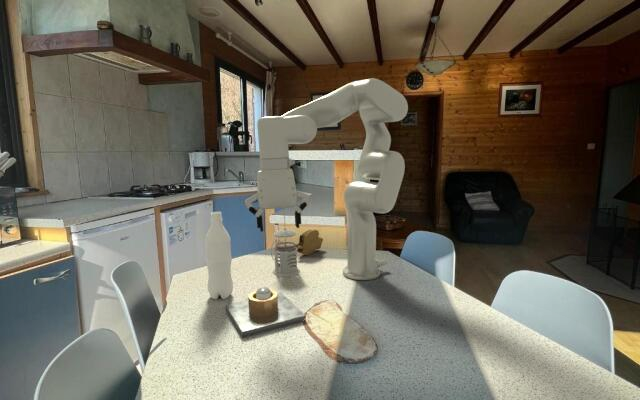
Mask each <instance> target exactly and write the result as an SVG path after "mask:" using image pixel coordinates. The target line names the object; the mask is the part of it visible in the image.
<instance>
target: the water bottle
mask: <svg viewBox="0 0 640 400" xmlns="http://www.w3.org/2000/svg"><path fill="white" fill-rule="evenodd" d="M222 215H223V214H222V212H221V211H212V212H210V220H209V222H210V227H209V229H208V231H207V233H206V235H205V237H204V246H205V264H206V268H207V271H208V273H207V274H208V279H207V292H208V293H209V294H208V295H209V296H210V297H211V299H213V300H218V299H219V296H220V297H221V299H222V300H226V299H227V298H228V297H230V296H231V295H232V293H233V291H234V282H233V277H232V269H231V266H232V259H233V258H232V251H231V250H232V249H231V248H232V247H231V237H230V234H229V233H228V231H227V230H226V228H225V226H224V223H223V217H222Z"/></svg>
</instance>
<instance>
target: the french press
mask: <svg viewBox="0 0 640 400" xmlns="http://www.w3.org/2000/svg"><path fill="white" fill-rule="evenodd" d="M285 212H286V208H283V215H284V216H283V217H284V219H283V220H284V223H283V224H284V225H286V213H285ZM297 233H298V232H297V231H296V230H294V229H290V228H287V227H283V228H281V229H278V230H276V231H274V233H273V236H274V237H276V238H281V239H283V238H284V241H283V242H282V241H281V240H278V241H277V239H274V241H273V242H272V244H271V248H270V255H271V258H272V260H273V261H274V269H273V270H272V275H274V276H276V277H293V276H295V275H299V273H301V269H299V267H298V257H297V255H298V252H297V249H298V248H297V247H295V246H296V244H297V243H295V242H293V241H292V242H291V241H289V242H288V241H286V240H287V238H291V237H295V236H296V235H297ZM275 242H276V244H275V248H274V257H273V251H272V250H273V245H274V243H275Z"/></svg>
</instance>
